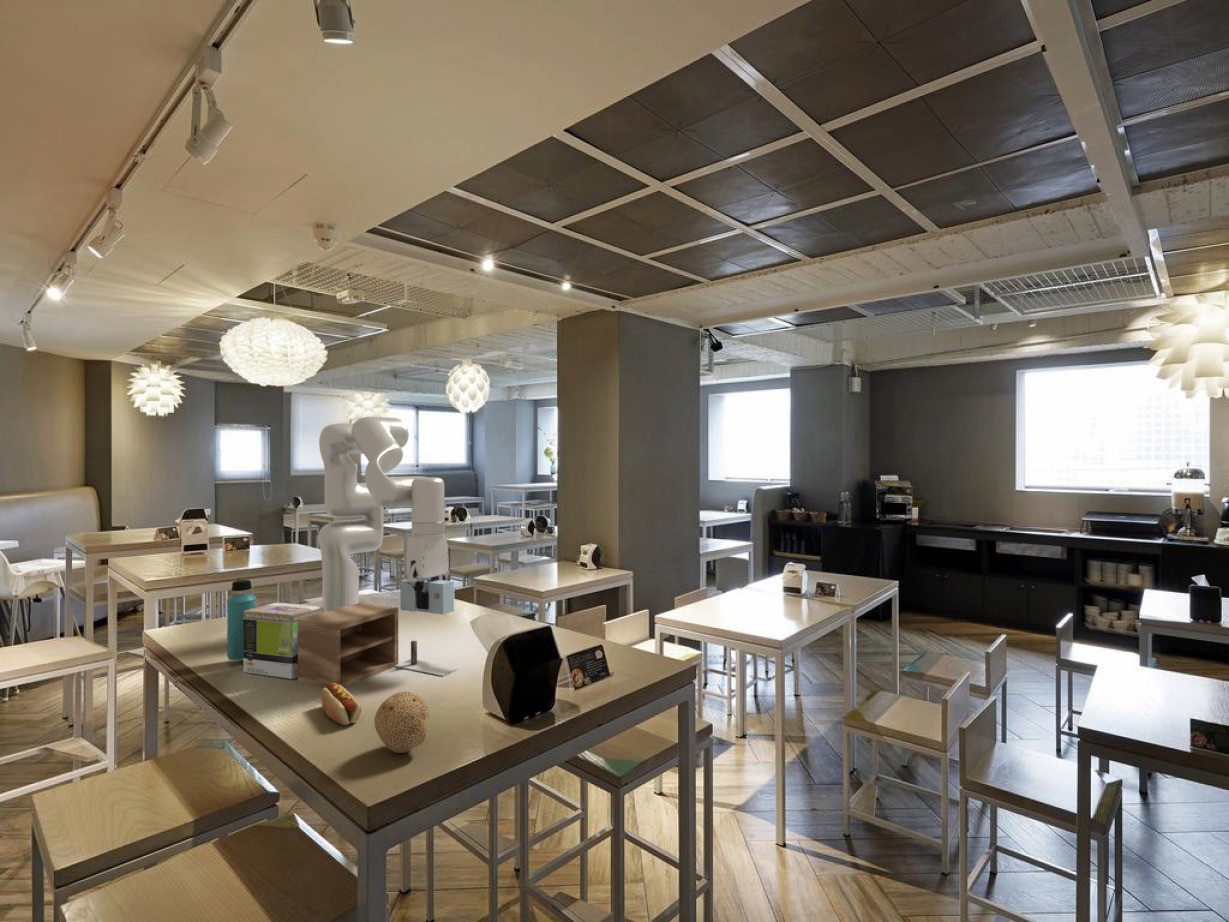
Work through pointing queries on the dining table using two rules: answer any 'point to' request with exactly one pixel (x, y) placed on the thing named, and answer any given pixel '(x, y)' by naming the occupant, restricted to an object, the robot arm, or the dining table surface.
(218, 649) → the dining table surface
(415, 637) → the dining table surface
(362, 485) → the robot arm
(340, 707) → the food
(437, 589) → the blue box with dot
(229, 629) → the beverage bottle
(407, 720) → the natural sponge
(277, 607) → the tea box
